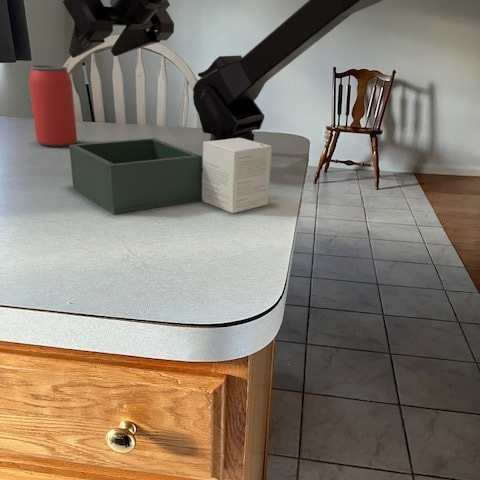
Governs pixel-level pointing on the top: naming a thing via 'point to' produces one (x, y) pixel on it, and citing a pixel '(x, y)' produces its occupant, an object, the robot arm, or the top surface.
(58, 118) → the beer can
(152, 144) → the open storage bin
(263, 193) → the product box
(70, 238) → the top surface
